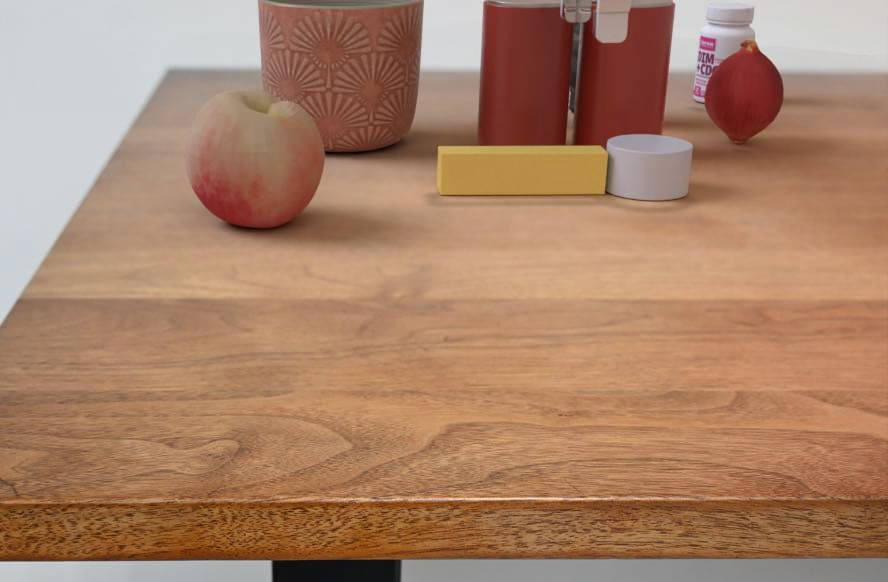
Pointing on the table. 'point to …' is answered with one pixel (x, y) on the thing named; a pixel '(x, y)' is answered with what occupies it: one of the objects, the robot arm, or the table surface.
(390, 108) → the planter
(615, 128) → the cans
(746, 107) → the onion
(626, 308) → the table surface
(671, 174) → the white cylinder yellow bar
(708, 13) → the pill bottle
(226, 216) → the fruit
